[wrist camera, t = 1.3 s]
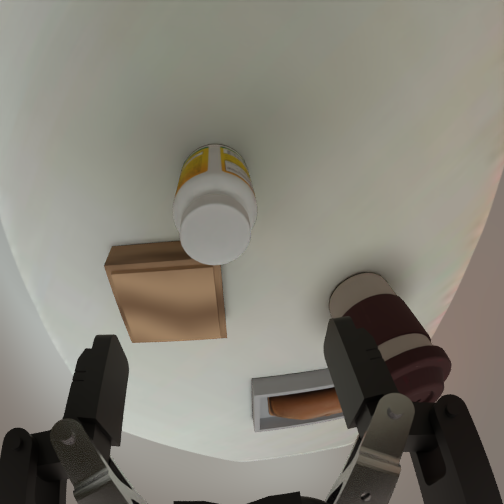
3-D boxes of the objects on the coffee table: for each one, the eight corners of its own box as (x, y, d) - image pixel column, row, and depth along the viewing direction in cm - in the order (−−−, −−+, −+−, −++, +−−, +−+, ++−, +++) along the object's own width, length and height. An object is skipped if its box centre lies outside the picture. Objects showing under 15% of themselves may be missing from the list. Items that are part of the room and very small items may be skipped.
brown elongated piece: (268, 418, 48) (273, 441, 41) (264, 381, 47) (269, 402, 41) (372, 396, 49) (388, 415, 42) (373, 360, 48) (391, 376, 42)
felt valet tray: (251, 378, 42) (254, 395, 40) (399, 354, 44) (406, 368, 42) (252, 418, 49) (254, 432, 47) (377, 396, 51) (382, 408, 49)
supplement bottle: (248, 143, 25) (269, 192, 17) (245, 204, 28) (261, 274, 20) (179, 143, 24) (164, 192, 16) (181, 204, 27) (171, 276, 19)
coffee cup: (314, 272, 33) (365, 399, 20) (400, 251, 33) (473, 357, 20) (318, 334, 38) (354, 444, 26) (391, 314, 38) (441, 411, 26)
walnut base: (111, 246, 28) (102, 269, 25) (218, 237, 29) (219, 260, 26) (135, 322, 34) (131, 346, 31) (225, 316, 35) (227, 341, 32)
